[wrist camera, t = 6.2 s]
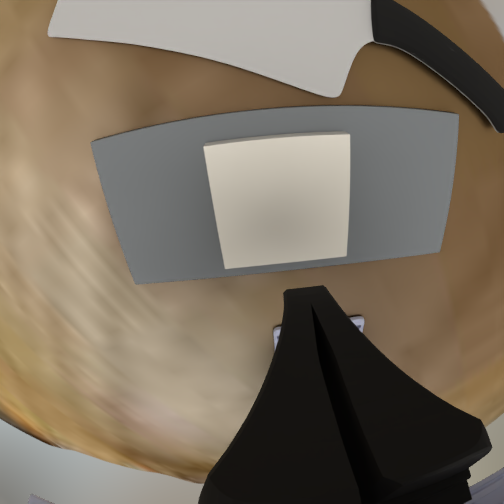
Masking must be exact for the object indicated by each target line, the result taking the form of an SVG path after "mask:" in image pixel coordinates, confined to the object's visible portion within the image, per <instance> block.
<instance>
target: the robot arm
mask: <svg viewBox="0 0 504 504" xmlns="http://www.w3.org/2000/svg"><path fill="white" fill-rule="evenodd" d="M283 295H284V313H283V320H282V325H281V327H276V328H275V329H274V330H273V335H274V346H275V352H274V356H273V359H272V362H271V365H270V368H269V370H268V373H267V376H266V378H265V380H264V383H263V385H262V388H261V390H260V392H259V394H258V396H257V398H256V400H255V402H254V404H253V406H252V408H251V410H250V412H249V414H248V416H247V418H246V419H245V421H244V423H243V424H242V426H241V428H240V429H239V431H238V433H237V434H236V436H235V438H234V439H233V441H232V442H231V444H230V445H229V447H228V448H227V450H226V451H225V452H224V454H223V455H222V456H221V458H220V459H219V460H218V462H217V463H216V465H215V466H214V467H213V468H212V470H211V471H210V472H209V474H208V476H207V479H206V481H205V484H204V486H203V489H202V491H201V494H200V497H199V502H198V504H504V467H503V468H502V469H500V470H499V471H497V472H496V473H494V474H492V475H490V476H489V477H487V478H485V479H483V480H482V481H480V482H478V483H476V484H474V485H472V486H470V487H469V486H468V482H467V479H469V478H470V477H471V475H470V471H469V467H470V466H472V465H473V464H475V463H476V462H477V461H479V460H480V459H481V458H483V457H484V456H485V455H487V454H488V453H489V452H490V451H491V449H492V445H491V442H490V439H489V436H488V434H487V431H486V429H485V427H484V425H483V423H482V421H481V420H480V419H478V418H476V417H474V416H472V415H470V414H468V413H466V412H464V411H462V410H460V409H458V408H456V407H454V406H452V405H450V404H449V403H447V402H445V401H444V400H442V399H441V398H439V397H437V396H436V395H434V394H433V393H431V392H430V391H429V390H427V389H426V388H424V387H423V386H422V385H420V384H419V383H417V382H416V381H414V380H413V379H412V378H410V377H409V376H408V375H407V374H405V373H404V372H403V371H402V370H401V369H399V368H398V367H397V366H396V365H395V364H394V363H392V362H391V361H390V360H389V359H388V358H387V357H386V356H385V355H384V354H382V353H381V352H380V351H379V350H378V349H377V348H376V347H375V346H374V345H373V344H372V343H371V342H370V341H369V340H368V338H367V337H366V336H365V335H364V334H363V333H362V331H363V327H364V318H363V317H362V316H357V317H351V318H349V317H348V316H347V315H346V314H345V312H344V311H343V310H342V309H341V307H340V306H339V305H338V303H337V302H336V301H335V300H334V298H333V297H332V295H331V294H330V293H329V291H328V290H327V288H326V287H324V286H323V285H322V286H314V287H305V288H296V289H287V290H286V291H285V292H284V293H283ZM357 325H358V326H357ZM28 504H54V503H52V502H49V501H47V500H44V499H42V498H40V497H38V496H36V495H33V494H30V497H29V501H28Z"/></svg>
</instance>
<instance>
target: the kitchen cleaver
mask: <svg viewBox="0 0 504 504" xmlns="http://www.w3.org/2000/svg"><path fill="white" fill-rule="evenodd" d="M48 36H49V37H64V38H76V39H87V40H99V41H110V42H120V43H128V44H135V45H142V46H148V47H154V48H160V49H165V50H170V51H176V52H181V53H185V54H190V55H195V56H199V57H203V58H208V59H211V60H215V61H219V62H222V63H226V64H229V65H233V66H236V67H239V68H242V69H246V70H249V71H252V72H255V73H258V74H261V75H264V76H267V77H269V78H272V79H275V80H278V81H281V82H284V83H286V84H289V85H292V86H295V87H298V88H301V89H303V90H306V91H309V92H312V93H315V94H319V95H322V96H325V97H333V98H334V97H338V96H339V95H340V94H341V92H342V90H343V87H344V84H345V81H346V78H347V75H348V72H349V70H350V67H351V64H352V62H353V60H354V58H355V56H356V54H357V52H358V51H359V50H360V48H361V47H362V46H364V45H365V44H367V43H369V42H372V41H374V42H375V43H378V44H384V45H389V46H393V47H396V48H398V49H400V50H403V51H405V52H406V53H408V54H410V55H412V56H413V57H415V58H416V59H418V60H419V61H421V62H422V63H424V64H425V65H427V66H428V67H429V68H431V69H432V70H433V71H435V72H436V73H437V74H439V75H440V76H441V77H443V78H444V79H445V80H447V81H448V82H449V83H450V84H451V85H453V86H454V87H455V88H456V89H457V90H459V91H460V92H461V93H462V94H463V95H464V96H466V97H467V98H468V99H469V100H470V101H471V102H472V103H473V104H474V105H475V106H476V107H477V108H478V109H479V110H480V111H481V112H482V113H483V114H484V115H485V116H486V117H487V119H488V120H489V122H490V123H491V125H492V127H493V128H494V129H495V130H496V131H497V132H498V133H504V89H503V88H502V87H501V86H500V85H499V84H498V83H497V82H496V81H495V80H494V79H493V78H492V77H491V76H490V75H489V74H488V73H487V72H486V71H485V70H484V69H483V68H482V67H481V66H480V65H479V64H478V63H476V62H475V61H474V60H473V59H472V58H471V57H470V56H469V55H467V54H466V53H465V52H464V51H463V50H462V49H460V48H459V47H458V46H457V45H456V44H455V43H453V42H452V41H451V40H450V39H448V38H447V37H446V36H445V35H443V34H442V33H441V32H440V31H438V30H437V29H436V28H434V27H433V26H432V25H430V24H429V23H427V22H426V21H425V20H423V19H422V18H420V17H419V16H417V15H416V14H414V13H413V12H411V11H410V10H408V9H407V8H405V7H403V6H402V5H400V4H398V3H397V2H395V1H393V0H58V2H57V5H56V8H55V10H54V13H53V16H52V19H51V22H50V25H49V28H48Z"/></svg>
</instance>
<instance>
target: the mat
mask: <svg viewBox="0 0 504 504" xmlns="http://www.w3.org/2000/svg"><path fill="white" fill-rule="evenodd" d="M458 125H459V114H456V113H451V112H444V111H436V110H427V109H417V108H405V107H390V106H366V105H319V106H295V107H279V108H266V109H255V110H246V111H237V112H229V113H221V114H214V115H208V116H201V117H195V118H189V119H184V120H178V121H173V122H168V123H163V124H158V125H153V126H149V127H144V128H140V129H136V130H132V131H128V132H124V133H120V134H116V135H112V136H108V137H105V138H101V139H98V140H94V141H92V142H90V143H91V147H92V151H93V155H94V159H95V163H96V167H97V171H98V174H99V178H100V182H101V185H102V189H103V192H104V195H105V199H106V202H107V205H108V209H109V212H110V215H111V218H112V221H113V224H114V227H115V230H116V233H117V236H118V239H119V242H120V245H121V248H122V250H123V253H124V256H125V259H126V261H127V264H128V267H129V269H130V272H131V275H132V277H133V280H134V282H135V284H148V283H160V282H172V281H184V280H195V279H206V278H217V277H228V276H238V275H248V274H258V273H268V272H278V271H287V270H297V269H306V268H315V267H324V266H333V265H342V264H350V263H359V262H367V261H375V260H383V259H391V258H399V257H407V256H415V255H422V254H430V253H437V252H440V249H441V244H442V240H443V236H444V231H445V226H446V221H447V216H448V211H449V205H450V199H451V193H452V186H453V179H454V171H455V163H456V153H457V141H458ZM334 131H345V132H347V133H349V134H350V201H349V224H348V241H347V256H345V257H336V258H327V259H318V260H308V261H299V262H290V263H280V264H270V265H261V266H251V267H241V268H231V269H225V266H224V261H223V256H222V251H221V245H220V240H219V234H218V229H217V223H216V218H215V212H214V207H213V201H212V195H211V190H210V184H209V178H208V172H207V166H206V160H205V154H204V148H203V146H204V145H205V143H208V142H215V141H223V140H231V139H239V138H248V137H257V136H268V135H279V134H293V133H309V132H334Z"/></svg>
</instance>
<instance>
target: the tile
mask: <svg viewBox="0 0 504 504" xmlns="http://www.w3.org/2000/svg"><path fill="white" fill-rule="evenodd" d="M203 148H204V154H205V160H206V166H207V172H208V178H209V184H210V190H211V195H212V201H213V207H214V212H215V218H216V223H217V229H218V234H219V240H220V245H221V251H222V256H223V261H224V266H225V269H231V268H241V267H251V266H261V265H270V264H280V263H290V262H299V261H308V260H318V259H327V258H336V257H345V256H347V241H348V224H349V201H350V134H349V133H347V132H345V131H334V132H309V133H293V134H279V135H268V136H257V137H248V138H239V139H231V140H223V141H215V142H208V143H205V145H204V146H203Z"/></svg>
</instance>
